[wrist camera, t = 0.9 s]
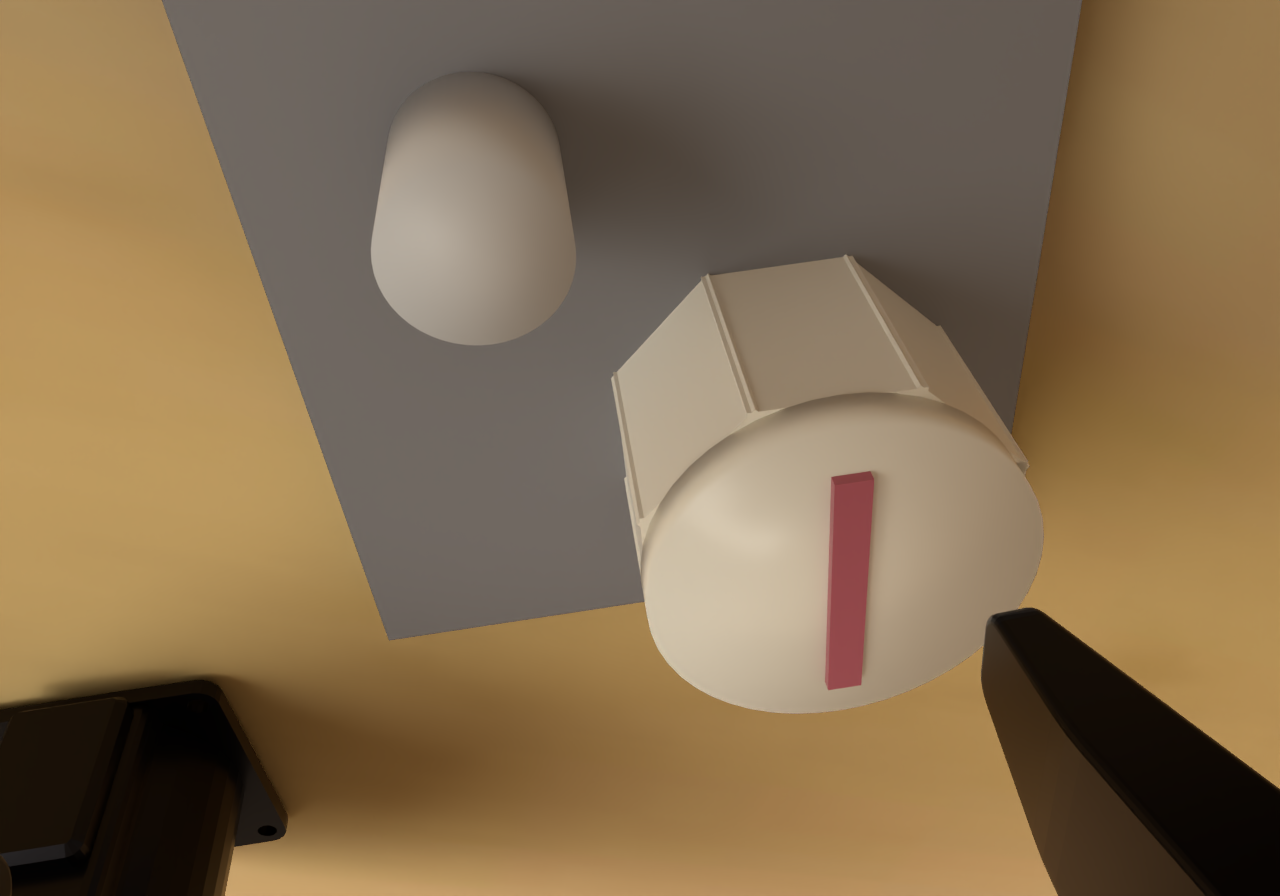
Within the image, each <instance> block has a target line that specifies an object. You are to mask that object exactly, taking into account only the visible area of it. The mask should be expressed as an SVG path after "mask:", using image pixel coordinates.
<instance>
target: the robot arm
mask: <svg viewBox="0 0 1280 896" xmlns="http://www.w3.org/2000/svg"><path fill="white" fill-rule="evenodd" d="M981 682H982V689H983V693H984V697H985V700H986V704H987V706H988V709H989V712H990V715H991V718H992V721H993V723H994V726H995V729H996V732H997V735H998V738H999V741H1000V743H1001V746H1002V749H1003V752H1004V755H1005V758H1006V760H1007V763H1008V766H1009V769H1010V772H1011V775H1012V777H1013V780H1014V783H1015V786H1016V789H1017V792H1018V795H1019V797H1020V800H1021V803H1022V806H1023V809H1024V812H1025V814H1026V817H1027V820H1028V823H1029V826H1030V829H1031V831H1032V834H1033V837H1034V840H1035V842H1036V845H1037V848H1038V850H1039V853H1040V856H1041V858H1042V861H1043V863H1044V865H1045V868H1046V870H1047V872H1048V874H1049V877H1050V879H1051V881H1052V883H1053V885H1054V888H1055V890H1056V892H1057V894H1058V896H1280V789H1279V788H1278V787H1276V786H1275V785H1274V784H1272V783H1271V782H1270V781H1268V780H1267V779H1266V778H1264V777H1263V776H1261V775H1260V774H1259V773H1257V772H1256V771H1255V770H1253V769H1252V768H1251V767H1249V766H1248V765H1247V764H1245V763H1244V762H1243V761H1241V760H1240V759H1239V758H1237V757H1236V756H1235V755H1233V754H1232V753H1231V752H1229V751H1228V750H1227V749H1225V748H1224V747H1223V746H1221V745H1220V744H1219V743H1217V742H1216V741H1215V740H1213V739H1212V738H1211V737H1209V736H1208V735H1207V734H1205V733H1204V732H1203V731H1201V730H1200V729H1199V728H1197V727H1196V726H1195V725H1193V724H1192V723H1191V722H1189V721H1188V720H1187V719H1185V718H1184V717H1183V716H1181V715H1180V714H1179V713H1177V712H1176V711H1175V710H1173V709H1172V708H1171V707H1169V706H1168V705H1167V704H1165V703H1164V702H1163V701H1161V700H1160V699H1159V698H1157V697H1156V696H1155V695H1153V694H1152V693H1151V692H1149V691H1148V690H1147V689H1145V688H1144V687H1143V686H1141V685H1140V684H1139V683H1137V682H1136V681H1135V680H1133V679H1132V678H1131V677H1129V676H1128V675H1127V674H1125V673H1124V672H1123V671H1121V670H1120V669H1119V668H1117V667H1116V666H1115V665H1113V664H1112V663H1111V662H1109V661H1108V660H1107V659H1105V658H1104V657H1102V656H1101V655H1100V654H1098V653H1097V652H1096V651H1094V650H1093V649H1092V648H1090V647H1089V646H1088V645H1086V644H1085V643H1084V642H1082V641H1081V640H1080V639H1078V638H1077V637H1076V636H1074V635H1073V634H1072V633H1070V632H1069V631H1068V630H1066V629H1065V628H1064V627H1062V626H1061V625H1060V624H1058V623H1057V622H1056V621H1054V620H1053V619H1052V618H1050V617H1049V616H1048V615H1046V614H1045V613H1044V612H1042V611H1040V610H1038V609H1035V608H1022V609H1016V610H1011V611H1006V612H1001V613H996V614H993V615H991V616H990V617H989V619H988V620H987V623H986V627H985V638H984V648H983V659H982V669H981ZM287 823H288V816H287V813H286V811H285V810H284V808H283V806H282V804H281V802H280V800H279V798H278V796H277V794H276V792H275V791H274V789H273V787H272V785H271V783H270V781H269V779H268V777H267V775H266V773H265V771H264V770H263V768H262V766H261V764H260V762H259V760H258V758H257V756H256V754H255V752H254V750H253V749H252V747H251V745H250V743H249V741H248V739H247V737H246V735H245V733H244V731H243V730H242V728H241V726H240V724H239V722H238V720H237V718H236V716H235V714H234V712H233V710H232V709H231V707H230V705H229V703H228V701H227V699H226V697H225V695H224V693H223V691H222V690H221V689H220V688H219V686H218V685H216V684H214V683H212V682H209V681H204V680H194V681H187V682H181V683H174V684H168V685H161V686H155V687H148V688H141V689H135V690H128V691H122V692H115V693H109V694H102V695H95V696H89V697H82V698H76V699H69V700H63V701H56V702H49V703H43V704H36V705H30V706H23V707H17V708H10V709H3V710H0V896H225V891H226V886H227V881H228V876H229V870H230V865H231V860H232V855H233V850H234V847H236V846H242V845H249V844H255V843H261V842H267V841H273V840H277V839H280V838H281V837H283V836H284V835H285V833H286V829H287Z"/></svg>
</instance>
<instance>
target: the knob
mask: <svg viewBox="0 0 1280 896" xmlns="http://www.w3.org/2000/svg"><path fill="white" fill-rule="evenodd" d="M611 381H612V386H613V392H614V398H615V403H616V409H617V415H618V420H619V426H620V432H621V439H622V446H623V454H624V462H625V470H626V477H625V478H624V481H625V487H626V493H627V499H628V505H629V510H630V516H631V522H632V528H633V534H634V540H635V545H636V551H637V557H638V563H639V569H640V575H641V583H642V589H643V595H644V601H645V607H646V613H647V618H648V622H649V627H650V631H651V634H652V637H653V639H654V641H655V643H656V646H657V648H658V650H659V651H660V653H661V654H662V656H663V657H664V659H665V660H666V662H667V663H668V664H669V665H670V666H671V667H672V668H673V669H674V670H675V671H676V672H677V673H678V674H679V675H680V676H681V677H682V678H683V679H685V680H686V681H687V682H689V683H690V684H691V685H693V686H694V687H695V688H697V689H699V690H701V691H703V692H705V693H706V694H708V695H710V696H712V697H714V698H717V699H719V700H722V701H725V702H727V703H730V704H733V705H737V706H741V707H744V708H748V709H753V710H759V711H766V712H773V713H790V714H802V713H822V712H830V711H839V710H844V709H850V708H855V707H860V706H864V705H868V704H871V703H875V702H878V701H882V700H886V699H888V698H891V697H894V696H897V695H899V694H902V693H905V692H907V691H910V690H912V689H914V688H916V687H919V686H921V685H923V684H925V683H927V682H929V681H931V680H933V679H935V678H937V677H938V676H940V675H942V674H944V673H946V672H947V671H949V670H951V669H952V668H954V667H955V666H957V665H958V664H960V663H961V662H963V661H964V660H966V659H967V658H969V657H970V656H971V655H972V654H974V653H975V652H976V651H977V650H979V649H980V648H981V647H982V646H983V645H984V638H985V627H986V623H987V620H988V619H989V617H990V616H991V615H993V614H996V613H1001V612H1006V611H1011V610H1016V609H1018V607H1019V606H1020V604H1021V602H1022V601H1023V599H1024V598H1025V596H1026V594H1027V593H1028V591H1029V589H1030V587H1031V584H1032V582H1033V580H1034V578H1035V576H1036V573H1037V570H1038V567H1039V563H1040V560H1041V556H1042V549H1043V540H1044V530H1043V518H1042V514H1041V510H1040V507H1039V503H1038V500H1037V498H1036V496H1035V494H1034V492H1033V490H1032V488H1031V486H1030V484H1029V482H1028V481H1027V479H1026V477H1025V475H1026V469H1028V468H1029V467H1030V466H1029V464H1028V460H1027V459H1026V457H1025V455H1024V454H1023V452H1022V451H1021V449H1020V448H1019V446H1018V445H1017V443H1016V442H1015V440H1014V438H1013V437H1012V435H1011V434H1010V432H1009V431H1008V429H1007V428H1006V426H1005V425H1004V423H1003V421H1002V420H1001V418H1000V417H999V415H998V414H997V412H996V411H995V409H994V407H993V406H992V404H991V403H990V401H989V400H988V398H987V397H986V395H985V394H984V392H983V390H982V389H981V387H980V386H979V384H978V383H977V381H976V380H975V378H974V377H973V375H972V373H971V372H970V370H969V369H968V367H967V366H966V364H965V363H964V361H963V359H962V358H961V356H960V355H959V353H958V352H957V350H956V349H955V347H954V346H953V344H952V342H951V341H950V339H949V338H948V336H947V335H946V333H945V332H944V330H943V329H942V327H941V325H940V326H936V325H935V324H934V323H932V322H931V321H930V320H929V319H927V318H926V317H925V316H923V315H922V314H921V313H920V312H918V311H917V310H916V309H915V308H913V307H912V306H911V305H910V304H908V303H907V302H906V301H904V300H903V299H902V298H901V297H899V296H898V295H897V294H896V293H894V292H893V291H892V290H891V289H889V288H888V287H887V286H886V285H884V284H883V283H882V282H880V281H879V280H878V279H877V278H875V277H874V276H873V275H872V274H870V273H869V272H868V271H867V270H865V269H864V268H863V267H862V266H860V265H859V264H858V263H857V262H856V261H855V259H854V257H853V256H848V255H846V254H845V255H844V256H843V257H839V258H832V259H825V260H818V261H811V262H804V263H796V264H789V265H782V266H775V267H768V268H761V269H754V270H747V271H739V272H732V273H725V274H718V275H709V274H707V275H706V276H704V277H701V281H700V282H699V283H698V285H697V286H696V287H695V288H694V289H693V290H692V291H691V292H690V293H689V294H688V295H687V296H686V298H685V299H684V300H683V301H682V302H681V303H680V304H679V305H678V306H677V307H676V308H675V309H674V311H673V312H672V313H671V314H670V315H669V316H668V317H667V318H666V319H665V320H664V321H663V322H662V324H661V325H660V326H659V327H658V328H657V329H656V330H655V331H654V332H653V333H652V334H651V335H650V337H649V338H648V339H647V340H646V341H645V342H644V343H643V344H642V345H641V346H640V347H639V348H638V350H637V351H636V352H635V353H634V354H633V355H632V356H631V357H630V358H629V359H628V360H627V361H626V363H625V364H624V365H623V366H622V367H621V368H620V369H619V370H618V371H617V372H613V377H612V378H611Z"/></svg>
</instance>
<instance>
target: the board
mask: <svg viewBox="0 0 1280 896" xmlns="http://www.w3.org/2000/svg"><path fill="white" fill-rule="evenodd" d="M162 2H163V5H164V7H165V10H166V13H167V16H168V19H169V21H170V24H171V27H172V30H173V33H174V36H175V38H176V41H177V44H178V47H179V50H180V53H181V55H182V58H183V61H184V64H185V67H186V69H187V72H188V75H189V78H190V81H191V84H192V86H193V89H194V92H195V95H196V98H197V100H198V103H199V106H200V109H201V112H202V115H203V117H204V120H205V123H206V126H207V129H208V131H209V134H210V137H211V140H212V143H213V146H214V148H215V151H216V154H217V157H218V160H219V162H220V165H221V168H222V171H223V174H224V177H225V179H226V182H227V185H228V188H229V191H230V194H231V196H232V199H233V202H234V205H235V208H236V210H237V213H238V216H239V219H240V222H241V225H242V227H243V230H244V233H245V236H246V239H247V241H248V244H249V247H250V250H251V253H252V256H253V258H254V261H255V264H256V267H257V270H258V272H259V275H260V278H261V281H262V284H263V287H264V289H265V292H266V295H267V298H268V301H269V303H270V306H271V309H272V312H273V315H274V318H275V320H276V323H277V326H278V329H279V332H280V335H281V337H282V340H283V343H284V346H285V349H286V351H287V354H288V357H289V360H290V363H291V366H292V368H293V371H294V374H295V377H296V380H297V382H298V385H299V388H300V391H301V394H302V397H303V399H304V402H305V405H306V408H307V411H308V413H309V416H310V419H311V422H312V425H313V428H314V430H315V433H316V436H317V439H318V442H319V444H320V447H321V450H322V453H323V456H324V459H325V461H326V464H327V467H328V470H329V473H330V476H331V478H332V481H333V484H334V487H335V490H336V492H337V495H338V498H339V501H340V504H341V507H342V509H343V512H344V515H345V518H346V521H347V523H348V526H349V529H350V532H351V535H352V538H353V540H354V543H355V546H356V549H357V552H358V554H359V557H360V560H361V563H362V566H363V569H364V571H365V574H366V577H367V580H368V583H369V586H370V588H371V591H372V594H373V597H374V600H375V602H376V605H377V608H378V611H379V614H380V617H381V619H382V622H383V625H384V628H385V631H386V633H387V636H388V639H389V640H395V639H402V638H408V637H415V636H422V635H428V634H435V633H441V632H448V631H454V630H461V629H468V628H474V627H481V626H487V625H494V624H501V623H507V622H514V621H520V620H527V619H533V618H540V617H547V616H553V615H560V614H566V613H573V612H580V611H586V610H593V609H599V608H606V607H612V606H619V605H626V604H632V603H639V602H645V601H644V595H643V589H642V583H641V575H640V569H639V563H638V557H637V551H636V545H635V540H634V534H633V528H632V522H631V516H630V510H629V505H628V499H627V493H626V487H625V481H624V478H625V477H626V470H625V462H624V454H623V446H622V439H621V432H620V426H619V420H618V415H617V409H616V403H615V398H614V392H613V386H612V381H611V378H612V377H613V372H617V371H618V370H619V369H620V368H621V367H622V366H623V365H624V364H625V363H626V361H627V360H628V359H629V358H630V357H631V356H632V355H633V354H634V353H635V352H636V351H637V350H638V348H639V347H640V346H641V345H642V344H643V343H644V342H645V341H646V340H647V339H648V338H649V337H650V335H651V334H652V333H653V332H654V331H655V330H656V329H657V328H658V327H659V326H660V325H661V324H662V322H663V321H664V320H665V319H666V318H667V317H668V316H669V315H670V314H671V313H672V312H673V311H674V309H675V308H676V307H677V306H678V305H679V304H680V303H681V302H682V301H683V300H684V299H685V298H686V296H687V295H688V294H689V293H690V292H691V291H692V290H693V289H694V288H695V287H696V286H697V285H698V283H699V282H700V281H701V277H704V276H706V275H707V274H709V275H718V274H725V273H732V272H739V271H747V270H754V269H761V268H768V267H775V266H782V265H789V264H796V263H804V262H811V261H818V260H825V259H832V258H839V257H843V256H844V255H845V254H846V255H848V256H853V257H854V259H855V261H856V262H857V263H858V264H859V265H860V266H862V267H863V268H864V269H865V270H867V271H868V272H869V273H870V274H872V275H873V276H874V277H875V278H877V279H878V280H879V281H880V282H882V283H883V284H884V285H886V286H887V287H888V288H889V289H891V290H892V291H893V292H894V293H896V294H897V295H898V296H899V297H901V298H902V299H903V300H904V301H906V302H907V303H908V304H910V305H911V306H912V307H913V308H915V309H916V310H917V311H918V312H920V313H921V314H922V315H923V316H925V317H926V318H927V319H929V320H930V321H931V322H932V323H934V324H935V325H936V326H940V325H941V327H942V329H943V330H944V332H945V333H946V335H947V336H948V338H949V339H950V341H951V342H952V344H953V346H954V347H955V349H956V350H957V352H958V353H959V355H960V356H961V358H962V359H963V361H964V363H965V364H966V366H967V367H968V369H969V370H970V372H971V373H972V375H973V377H974V378H975V380H976V381H977V383H978V384H979V386H980V387H981V389H982V390H983V392H984V394H985V395H986V397H987V398H988V400H989V401H990V403H991V404H992V406H993V407H994V409H995V411H996V412H997V414H998V415H999V417H1000V418H1001V420H1002V421H1003V423H1004V425H1005V426H1006V428H1007V429H1008V431H1009V432H1010V434H1011V433H1012V427H1013V421H1014V415H1015V408H1016V402H1017V396H1018V390H1019V384H1020V378H1021V372H1022V366H1023V360H1024V353H1025V347H1026V341H1027V335H1028V329H1029V323H1030V317H1031V311H1032V304H1033V298H1034V292H1035V286H1036V280H1037V274H1038V268H1039V262H1040V255H1041V249H1042V243H1043V237H1044V231H1045V225H1046V219H1047V213H1048V206H1049V200H1050V194H1051V188H1052V182H1053V176H1054V170H1055V164H1056V157H1057V151H1058V145H1059V139H1060V133H1061V127H1062V121H1063V115H1064V108H1065V102H1066V96H1067V90H1068V84H1069V78H1070V72H1071V66H1072V59H1073V53H1074V47H1075V41H1076V35H1077V29H1078V23H1079V17H1080V11H1081V4H1082V0H162Z"/></svg>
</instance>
